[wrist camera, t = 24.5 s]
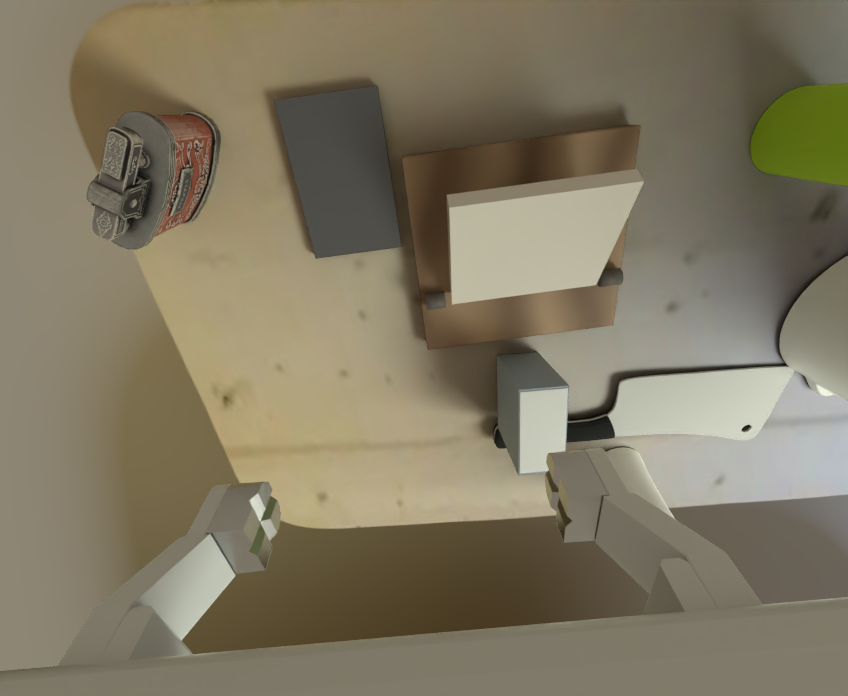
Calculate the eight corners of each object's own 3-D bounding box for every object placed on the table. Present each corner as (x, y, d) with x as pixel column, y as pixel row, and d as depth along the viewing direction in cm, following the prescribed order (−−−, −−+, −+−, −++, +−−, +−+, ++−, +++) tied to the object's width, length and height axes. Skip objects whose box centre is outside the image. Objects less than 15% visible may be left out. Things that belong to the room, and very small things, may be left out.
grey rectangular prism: (569, 385, 32) (565, 471, 34) (537, 352, 39) (536, 424, 42) (519, 390, 32) (518, 475, 34) (496, 355, 39) (497, 427, 42)
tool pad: (377, 86, 28) (377, 85, 27) (401, 244, 33) (401, 247, 32) (276, 100, 28) (273, 100, 27) (317, 255, 33) (315, 258, 33)
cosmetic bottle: (637, 478, 49) (786, 706, 31) (588, 485, 50) (706, 716, 31) (644, 443, 46) (814, 671, 27) (591, 450, 47) (725, 682, 28)
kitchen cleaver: (803, 370, 41) (762, 443, 46) (788, 361, 42) (750, 433, 47) (502, 385, 39) (493, 461, 44) (497, 375, 40) (490, 450, 45)
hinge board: (629, 124, 30) (650, 125, 27) (605, 318, 38) (619, 331, 35) (401, 156, 30) (402, 160, 27) (426, 341, 38) (428, 357, 36)
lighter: (199, 229, 32) (125, 273, 23) (154, 207, 31) (59, 245, 22) (230, 129, 28) (157, 136, 20) (180, 100, 27) (80, 95, 19)
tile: (596, 285, 33) (591, 273, 34) (644, 181, 24) (636, 168, 25) (451, 304, 33) (449, 292, 34) (449, 207, 25) (446, 194, 25)
